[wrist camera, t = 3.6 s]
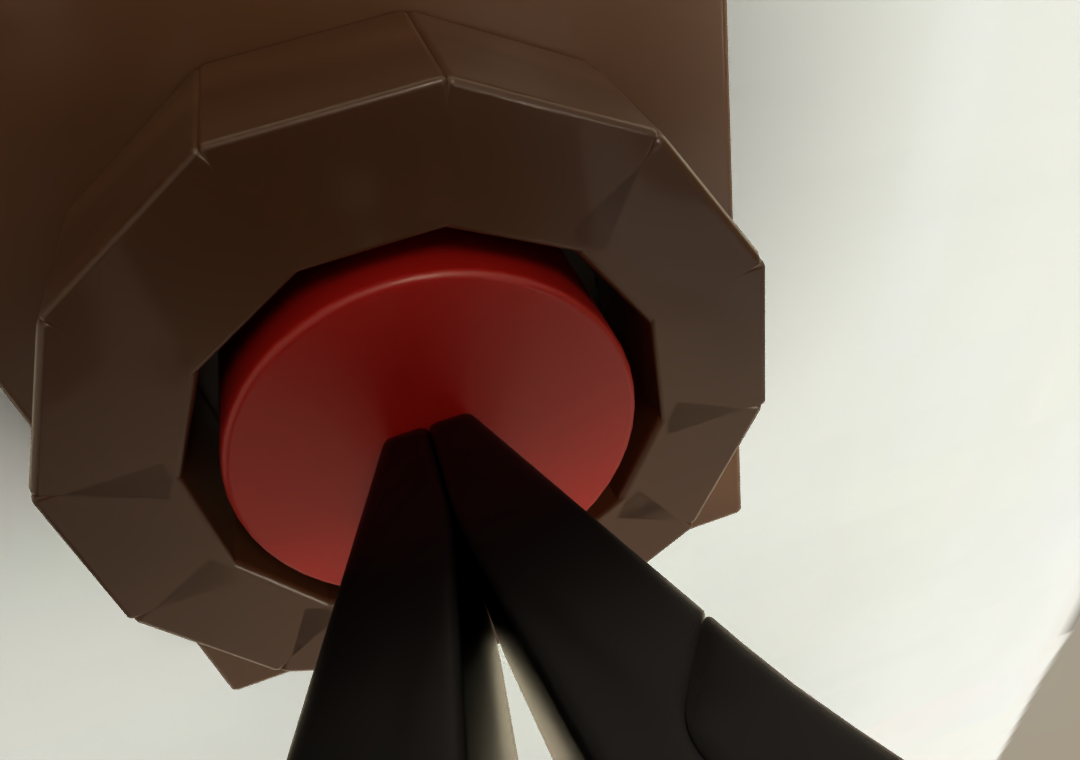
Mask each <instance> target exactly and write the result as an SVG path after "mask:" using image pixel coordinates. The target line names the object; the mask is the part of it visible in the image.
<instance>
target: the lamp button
mask: <svg viewBox="0 0 1080 760" xmlns="http://www.w3.org/2000/svg"><path fill="white" fill-rule="evenodd" d="M218 381H219V454H220V466H221V477H222V481H223V484H224V488H225V491H226V495H227V498H228V500H229V502H230V504H231V506H232V508H233V510H234V512H235V514H236V516H237V518H238V519H239V520H240V522H241V523H242V525H243V526H244V527H245V529H246V530H247V531H248V533H249V534H250V535H251V537H252V538H253V539H254V540H255V541H256V542H257V543H258V544H259V545H261V546H262V547H263V548H264V549H265V550H266V551H267V552H268V553H269V554H271V555H272V556H274V557H275V558H276V559H278V560H279V561H281V562H282V563H283V564H285V565H287V566H289V567H291V568H293V569H295V570H297V571H298V572H300V573H302V574H305V575H307V576H310V577H312V578H315V579H318V580H320V581H323V582H327V583H331V584H335V585H338V586H340V584H341V581H342V577H343V574H344V571H345V568H346V564H347V561H348V558H349V555H350V551H351V548H352V545H353V541H354V538H355V535H356V532H357V528H358V525H359V522H360V519H361V515H362V512H363V509H364V506H365V502H366V499H367V496H368V492H369V489H370V486H371V483H372V479H373V476H374V473H375V470H376V466H377V463H378V460H379V457H380V453H381V450H382V447H383V444H384V443H385V441H386V440H387V439H389V438H390V437H393V436H396V435H399V434H402V433H405V432H409V431H412V430H415V429H418V428H425V429H427V430H428V432H429V433H430V427H431V426H432V424H434V423H436V422H439V421H442V420H445V419H448V418H451V417H454V416H457V415H460V414H463V413H469V414H472V415H473V416H475V417H476V418H477V419H478V420H480V421H481V422H482V423H483V424H484V425H485V426H487V427H488V428H489V429H490V430H491V431H493V432H494V433H495V434H496V435H497V436H498V437H500V438H501V439H502V440H503V441H504V442H505V443H507V444H508V445H509V446H510V447H511V448H513V449H514V450H515V451H516V452H517V453H518V454H520V455H521V456H522V457H523V458H524V459H525V460H527V461H528V462H529V463H530V464H531V465H533V466H534V467H535V468H536V469H537V470H538V471H540V472H541V473H542V474H543V475H544V476H546V477H547V478H548V479H549V480H550V481H551V482H553V483H554V484H555V485H556V486H557V487H558V488H560V489H561V490H562V491H563V492H564V493H566V494H567V495H568V496H569V497H570V498H571V499H573V500H574V501H575V502H576V503H577V504H578V505H580V506H581V507H582V508H583V509H584V510H586V511H587V510H588V509H589V508H590V507H591V506H592V505H593V504H594V502H595V501H596V500H597V499H598V498H599V496H600V495H601V494H602V492H603V491H604V490H605V488H606V487H607V485H608V484H609V483H610V481H611V479H612V477H613V476H614V474H615V472H616V471H617V469H618V467H619V465H620V463H621V461H622V458H623V456H624V453H625V451H626V449H627V446H628V442H629V439H630V435H631V431H632V427H633V418H634V409H635V397H634V382H633V378H632V373H631V369H630V365H629V362H628V360H627V357H626V355H625V352H624V350H623V348H622V345H621V344H620V342H619V341H618V339H617V337H616V336H615V334H614V333H613V331H612V329H611V328H610V326H609V325H608V323H607V321H606V320H605V318H604V317H603V315H602V314H601V312H600V310H599V309H598V307H597V306H596V304H595V302H594V301H593V299H592V298H591V296H590V294H589V293H588V291H587V290H586V288H585V286H584V285H583V283H582V282H581V280H580V278H579V277H578V275H577V274H576V272H575V270H574V269H573V267H572V266H571V264H570V262H569V261H568V259H567V258H566V256H565V255H564V253H563V251H562V250H561V248H556V247H551V246H546V245H540V244H535V243H529V242H524V241H519V240H513V239H508V238H503V237H497V236H492V235H486V234H481V233H476V232H470V231H465V230H460V229H454V228H449V227H443V228H440V229H437V230H433V231H430V232H427V233H423V234H420V235H417V236H414V237H410V238H407V239H404V240H400V241H397V242H394V243H391V244H387V245H384V246H381V247H377V248H374V249H371V250H367V251H364V252H361V253H358V254H354V255H351V256H348V257H344V258H341V259H338V260H335V261H331V262H328V263H325V264H321V265H318V266H315V267H311V268H308V269H305V270H302V271H298V272H297V273H296V274H295V275H294V276H293V277H292V278H291V279H290V280H289V281H288V282H287V283H286V284H285V285H284V286H283V287H282V288H281V289H280V290H279V291H278V292H277V293H276V294H275V295H274V296H273V297H272V298H271V299H270V300H269V301H268V302H267V303H266V304H265V305H264V306H263V307H262V308H261V309H260V310H259V311H258V312H257V313H256V314H255V315H254V316H253V317H252V318H251V319H250V320H249V321H248V322H247V323H246V324H245V325H244V326H243V327H242V328H241V329H240V330H239V331H238V332H236V333H235V334H234V335H233V336H232V337H231V338H230V339H229V340H228V341H227V342H226V343H225V344H224V345H223V346H222V347H221V348H220V349H219V350H218Z"/></svg>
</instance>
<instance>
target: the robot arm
mask: <svg viewBox="0 0 1080 760" xmlns="http://www.w3.org/2000/svg"><path fill="white" fill-rule="evenodd" d="M488 612H489V613H488ZM489 615H490V616H489ZM490 618H491V620H490ZM491 621H492V623H491ZM492 624H493V626H494V629H495V632H496V635H497V638H498V640H499V643H500V645H501V647H502V650H503V652H504V654H505V657H506V659H507V661H508V664H509V666H510V668H511V670H512V672H513V674H514V677H515V679H516V681H517V683H518V685H519V687H520V690H521V692H522V694H523V696H524V698H525V700H526V702H527V705H528V707H529V709H530V711H531V713H532V715H533V718H534V720H535V722H536V724H537V726H538V728H539V730H540V733H541V735H542V737H543V739H544V741H545V743H546V746H547V748H548V750H549V752H550V754H551V756H552V759H553V760H903V759H902V758H900V757H899V756H897V755H896V754H894V753H893V752H891V751H890V750H888V749H887V748H885V747H884V746H882V745H881V744H879V743H878V742H876V741H875V740H873V739H872V738H870V737H869V736H867V735H866V734H864V733H863V732H861V731H860V730H858V729H857V728H855V727H854V726H852V725H851V724H850V723H848V722H847V721H845V720H844V719H843V718H841V717H840V716H838V715H837V714H835V713H834V712H833V711H831V710H830V709H828V708H827V707H825V706H824V705H823V704H821V703H820V702H818V701H817V700H815V699H814V698H813V697H811V696H810V695H808V694H807V693H806V692H804V691H803V690H801V689H800V688H798V687H797V686H796V685H794V684H793V683H792V682H791V681H789V680H788V679H787V678H786V677H784V676H783V675H782V674H781V673H779V672H778V671H777V670H775V669H774V668H773V667H772V666H770V665H769V664H768V663H767V662H765V661H764V660H763V659H762V658H760V657H759V656H758V655H757V654H755V653H754V652H753V651H752V650H750V649H749V648H748V647H747V646H745V645H744V644H743V643H742V642H740V641H739V640H738V639H737V638H736V637H735V636H733V635H732V634H731V633H730V632H729V631H728V630H726V629H725V628H724V627H723V626H722V625H720V624H719V623H718V622H717V621H716V620H715V619H713V618H712V617H706V618H705V613H704V611H703V610H702V609H701V608H700V607H699V606H697V605H696V604H695V603H694V602H693V601H692V600H690V599H689V598H688V597H687V596H686V595H684V594H683V593H682V592H681V591H680V590H679V589H677V588H676V587H675V586H674V585H673V584H672V583H670V582H669V581H668V580H667V579H666V578H664V577H663V576H662V575H661V574H660V573H659V572H657V571H656V570H655V569H654V568H653V567H652V566H650V565H649V564H648V563H647V562H646V561H644V560H643V559H642V558H641V557H640V556H639V555H637V554H636V553H635V552H634V551H633V550H631V549H630V548H629V547H628V546H627V545H626V544H624V543H623V542H622V541H621V540H620V539H619V538H617V537H616V536H615V535H614V534H613V533H611V532H610V531H609V530H608V529H607V528H606V527H604V526H603V525H602V524H601V523H600V522H599V521H597V520H596V519H595V518H594V517H593V516H591V515H590V514H589V513H588V512H587V511H586V510H584V509H583V508H582V507H581V506H580V505H578V504H577V503H576V502H575V501H574V500H573V499H571V498H570V497H569V496H568V495H567V494H566V493H564V492H563V491H562V490H561V489H560V488H558V487H557V486H556V485H555V484H554V483H553V482H551V481H550V480H549V479H548V478H547V477H546V476H544V475H543V474H542V473H541V472H540V471H538V470H537V469H536V468H535V467H534V466H533V465H531V464H530V463H529V462H528V461H527V460H525V459H524V458H523V457H522V456H521V455H520V454H518V453H517V452H516V451H515V450H514V449H513V448H511V447H510V446H509V445H508V444H507V443H505V442H504V441H503V440H502V439H501V438H500V437H498V436H497V435H496V434H495V433H494V432H493V431H491V430H490V429H489V428H488V427H487V426H485V425H484V424H483V423H482V422H481V421H480V420H478V419H477V418H476V417H475V416H473V415H472V414H469V413H463V414H460V415H457V416H454V417H451V418H448V419H445V420H442V421H439V422H436V423H434V424H432V426H431V427H430V433H429V432H428V430H427V429H425V428H418V429H415V430H412V431H409V432H405V433H402V434H399V435H396V436H393V437H390V438H389V439H387V440H386V441H385V443H384V444H383V447H382V450H381V453H380V457H379V460H378V463H377V466H376V470H375V473H374V476H373V479H372V483H371V486H370V489H369V492H368V496H367V499H366V502H365V506H364V509H363V512H362V515H361V519H360V522H359V525H358V528H357V532H356V535H355V538H354V541H353V545H352V548H351V551H350V555H349V558H348V561H347V564H346V568H345V571H344V574H343V577H342V581H341V584H340V587H339V590H338V594H337V597H336V600H335V603H334V607H333V610H332V613H331V617H330V620H329V623H328V626H327V630H326V633H325V636H324V639H323V643H322V646H321V649H320V652H319V656H318V659H317V662H316V666H315V669H314V672H313V675H312V679H311V682H310V685H309V688H308V692H307V695H306V698H305V701H304V705H303V708H302V711H301V715H300V718H299V721H298V724H297V728H296V731H295V734H294V737H293V741H292V744H291V747H290V750H289V754H288V757H287V760H518V755H517V750H516V744H515V739H514V733H513V727H512V722H511V716H510V710H509V705H508V699H507V694H506V688H505V682H504V677H503V671H502V665H501V661H500V656H499V651H498V646H497V641H496V638H495V634H494V630H493V627H492Z"/></svg>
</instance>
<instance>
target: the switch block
mask: <svg viewBox="0 0 1080 760" xmlns="http://www.w3.org/2000/svg"><path fill="white" fill-rule="evenodd" d="M443 227H449V228H454V229H460V230H465V231H470V232H476V233H481V234H486V235H492V236H497V237H503V238H508V239H513V240H519V241H524V242H529V243H535V244H540V245H546V246H551V247H556V248H561V250H562V251H563V253H564V255H565V256H566V258H567V259H568V261H569V262H570V264H571V266H572V267H573V269H574V270H575V272H576V274H577V275H578V277H579V278H580V280H581V282H582V283H583V285H584V286H585V288H586V290H587V291H588V293H589V294H590V296H591V298H592V299H593V301H594V302H595V304H596V306H597V307H598V309H599V310H600V312H601V314H602V315H603V317H604V318H605V320H606V321H607V323H608V325H609V326H610V328H611V329H612V331H613V333H614V334H615V336H616V337H617V339H618V341H619V342H620V344H621V345H622V348H623V350H624V352H625V355H626V357H627V360H628V362H629V365H630V369H631V373H632V378H633V382H634V397H635V409H634V418H633V427H632V431H631V435H630V439H629V442H628V446H627V449H626V451H625V453H624V456H623V458H622V461H621V463H620V465H619V467H618V469H617V471H616V472H615V474H614V476H613V477H612V479H611V481H610V483H609V484H608V485H607V487H606V488H605V490H604V491H603V492H602V494H601V495H600V496H599V498H598V499H597V500H596V501H595V502H594V504H593V505H592V506H591V507H590V508H589V509H588V510H587V512H588V513H589V514H590V515H591V516H593V517H594V518H595V519H596V520H597V521H599V522H600V523H601V524H602V525H603V526H604V527H606V528H607V529H608V530H609V531H610V532H611V533H613V534H614V535H615V536H616V537H617V538H619V539H620V540H621V541H622V542H623V543H624V544H626V545H627V546H628V547H629V548H630V549H631V550H633V551H634V552H635V553H636V554H637V555H639V556H640V557H641V558H642V559H643V560H644V561H646V562H648V561H649V560H650V559H652V558H653V557H654V556H656V555H657V554H658V553H659V552H661V551H662V550H663V549H665V548H666V547H667V546H668V545H670V544H671V543H672V542H674V541H675V540H676V539H678V538H679V537H680V536H681V535H683V534H684V533H685V532H687V531H688V530H689V529H692V528H695V527H697V526H700V525H703V524H706V523H709V522H711V521H714V520H717V519H720V518H723V517H726V516H728V515H731V514H734V513H737V512H738V511H739V510H740V509H741V499H740V463H739V445H740V443H741V441H742V440H743V438H744V436H745V435H746V433H747V431H748V429H749V428H750V426H751V424H752V423H753V421H754V419H755V417H756V416H757V414H758V412H759V411H760V407H761V404H762V403H764V401H765V265H764V263H763V261H762V260H761V259H760V258H759V255H758V251H757V250H756V249H755V248H754V246H753V245H752V244H751V243H750V241H749V240H748V239H747V238H746V236H745V235H744V234H743V233H742V231H741V230H740V229H739V228H738V226H737V225H736V224H735V223H734V221H733V216H732V180H731V145H730V109H729V74H728V39H727V3H726V0H0V387H1V388H2V390H3V391H4V392H5V394H6V395H7V396H8V397H9V399H10V400H11V401H12V403H13V404H14V405H15V407H16V408H17V409H18V410H19V412H20V413H21V414H22V416H23V417H24V418H25V420H26V421H27V422H28V423H29V425H30V426H31V427H32V428H31V451H30V473H29V488H30V491H31V493H32V496H31V498H32V502H33V504H34V505H35V506H36V507H37V508H38V510H39V511H40V512H41V513H42V514H43V516H44V517H45V518H46V519H47V520H48V522H49V523H50V524H51V525H52V526H53V528H54V529H55V530H56V531H57V532H58V534H59V535H60V536H61V537H62V538H63V540H64V541H65V542H66V543H67V544H68V546H69V547H70V548H71V549H72V550H73V552H74V553H75V554H76V555H77V556H78V558H79V559H80V560H81V561H82V562H83V564H84V565H85V566H86V567H87V568H88V570H89V571H90V572H91V573H92V574H93V576H94V577H95V578H96V579H97V580H98V582H99V583H100V584H101V585H102V586H103V588H104V589H105V590H106V591H107V592H108V594H109V595H110V596H111V597H112V598H113V600H114V601H115V602H116V603H117V604H118V606H119V607H120V608H121V609H122V610H123V612H124V613H125V614H126V615H127V616H128V617H129V618H135V620H137V621H138V622H140V623H143V624H146V625H148V626H151V627H154V628H157V629H160V630H163V631H165V632H168V633H171V634H174V635H177V636H180V637H182V638H185V639H188V640H191V641H194V642H197V644H198V645H199V646H200V647H201V649H202V650H203V651H204V653H205V654H206V655H207V657H208V658H209V659H210V660H211V662H212V663H213V664H214V666H215V667H216V668H217V670H218V671H219V672H220V673H221V675H222V676H223V677H224V679H225V680H226V681H227V683H228V684H229V685H230V686H231V688H232V689H234V690H235V689H241V688H244V687H247V686H250V685H253V684H255V683H258V682H261V681H264V680H267V679H269V678H272V677H275V676H278V675H281V674H284V673H286V672H289V671H312V670H314V669H315V666H316V662H317V659H318V656H319V652H320V649H321V646H322V643H323V639H324V636H325V633H326V630H327V626H328V623H329V620H330V617H331V613H332V610H333V607H334V603H335V600H336V597H337V594H338V590H339V587H340V586H338V585H335V584H331V583H327V582H323V581H320V580H318V579H315V578H312V577H310V576H307V575H305V574H302V573H300V572H298V571H297V570H295V569H293V568H291V567H289V566H287V565H285V564H283V563H282V562H281V561H279V560H278V559H276V558H275V557H274V556H272V555H271V554H269V553H268V552H267V551H266V550H265V549H264V548H263V547H262V546H261V545H259V544H258V543H257V542H256V541H255V540H254V539H253V538H252V537H251V535H250V534H249V533H248V531H247V530H246V529H245V527H244V526H243V525H242V523H241V522H240V520H239V519H238V518H237V516H236V514H235V512H234V510H233V508H232V506H231V504H230V502H229V500H228V498H227V495H226V491H225V488H224V484H223V481H222V477H221V466H220V454H219V381H218V350H219V349H220V348H221V347H222V346H223V345H224V344H225V343H226V342H227V341H228V340H229V339H230V338H231V337H232V336H233V335H234V334H235V333H236V332H238V331H239V330H240V329H241V328H242V327H243V326H244V325H245V324H246V323H247V322H248V321H249V320H250V319H251V318H252V317H253V316H254V315H255V314H256V313H257V312H258V311H259V310H260V309H261V308H262V307H263V306H264V305H265V304H266V303H267V302H268V301H269V300H270V299H271V298H272V297H273V296H274V295H275V294H276V293H277V292H278V291H279V290H280V289H281V288H282V287H283V286H284V285H285V284H286V283H287V282H288V281H289V280H290V279H291V278H292V277H293V276H294V275H295V274H296V273H297V272H298V271H302V270H305V269H308V268H311V267H315V266H318V265H321V264H325V263H328V262H331V261H335V260H338V259H341V258H344V257H348V256H351V255H354V254H358V253H361V252H364V251H367V250H371V249H374V248H377V247H381V246H384V245H387V244H391V243H394V242H397V241H400V240H404V239H407V238H410V237H414V236H417V235H420V234H423V233H427V232H430V231H433V230H437V229H440V228H443ZM488 613H489V612H488ZM489 616H490V615H489ZM490 620H491V618H490ZM491 623H492V621H491ZM492 627H493V630H494V634H495V638H496V641H497V644H499V640H498V638H497V635H496V632H495V629H494V626H493V624H492Z"/></svg>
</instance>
